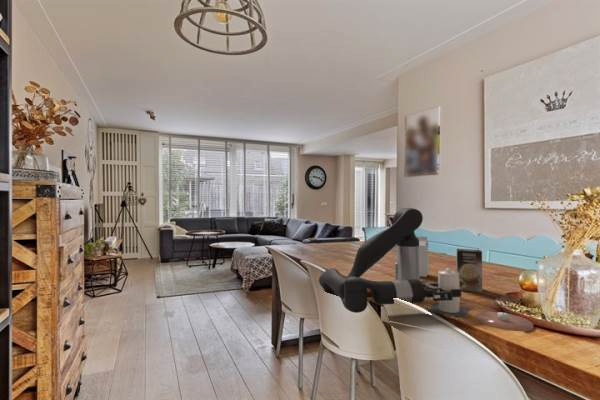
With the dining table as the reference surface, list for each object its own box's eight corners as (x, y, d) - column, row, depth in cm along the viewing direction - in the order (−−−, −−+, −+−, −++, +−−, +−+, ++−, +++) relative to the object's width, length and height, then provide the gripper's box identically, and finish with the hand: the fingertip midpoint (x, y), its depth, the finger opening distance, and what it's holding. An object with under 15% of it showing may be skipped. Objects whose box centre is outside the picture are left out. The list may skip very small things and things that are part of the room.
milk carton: (426, 277, 151) (425, 237, 151) (410, 275, 155) (410, 236, 155) (428, 274, 157) (428, 236, 157) (414, 273, 161) (413, 235, 161)
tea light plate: (472, 324, 91) (472, 313, 91) (479, 311, 102) (479, 301, 102) (533, 336, 82) (533, 324, 82) (533, 320, 94) (533, 309, 94)
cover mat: (426, 312, 101) (426, 310, 101) (435, 303, 110) (435, 302, 110) (465, 319, 95) (465, 317, 95) (470, 309, 104) (470, 308, 104)
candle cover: (436, 310, 102) (436, 268, 102) (441, 305, 107) (440, 265, 107) (457, 314, 98) (456, 270, 99) (461, 308, 103) (460, 267, 104)
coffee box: (456, 290, 128) (456, 250, 128) (456, 286, 133) (455, 248, 134) (483, 292, 124) (482, 251, 124) (481, 288, 130) (480, 249, 130)
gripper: (395, 297, 107) (439, 295, 110) (417, 310, 93) (467, 307, 96) (395, 275, 107) (439, 273, 110) (416, 285, 93) (466, 283, 96)
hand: (452, 289), depth 103 cm, fingers open, 8 cm apart
